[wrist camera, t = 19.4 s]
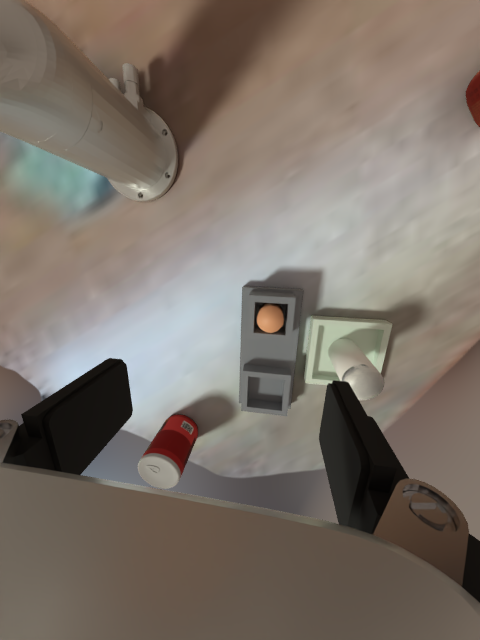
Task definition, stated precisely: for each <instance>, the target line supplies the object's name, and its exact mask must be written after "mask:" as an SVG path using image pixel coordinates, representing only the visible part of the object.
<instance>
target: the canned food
mask: <svg viewBox="0 0 480 640" xmlns="http://www.w3.org/2000/svg"><path fill="white" fill-rule="evenodd" d="M197 436H198V428H197V425H196V424H195V422H194V421H193V420H192V419H190V418H189V417H187V416H184V415H173V416H171V417H169V418H168V419H167V420H166V421H165V422H164V424H163V426H162V427H161V429H160V430H159V432H158V433H157V435H156V436H155V438H154V439H153V441H152V442H151V444H150V445H149V447H148V449H147V450H146V452H145V453H144V455H143V457H142V458H141V460H140V462H139V464H138V471H139V474H140V475H141V477H142V478H143V479H144V480H145V481H146V482H147V483H149V484H150V485H152V486H154V487H158V488H163V489H167V488H172V487H174V486H175V485H176V484H177V483H178V481H179V480H180V477H181V475H182V473H183V470H184V468H185V465H186V463H187V461H188V458H189V456H190V453H191V451H192V448H193V446H194V444H195V441H196V439H197Z"/></svg>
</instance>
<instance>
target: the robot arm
mask: <svg viewBox="0 0 480 640" xmlns="http://www.w3.org/2000/svg"><path fill="white" fill-rule="evenodd" d="M123 77H124V84H125V90H126V93H125V94H124V95H123V94H122V93H121V86H120V82H119V81H118V80H117V79H114V78H110V79H108V78H107V77H106V76H105V75H104V74H103V73H102V72H101V71H100V70H99V69H98V68H97V67H96V66H95V65H94V64H93V63H92V62H91V61H90V60H89V59H88V58H87V57H86V56H85V54H84V53H83V52H82V51H81V50H80V49H79V48H78V47H77V46H76V45H75V44H74V43H73V42H72V41H71V40H70V39H69V38H68V37H67V36H66V35H65V34H64V33H63V32H62V31H61V30H60V29H59V27H58V26H57V25H56V24H55V23H53V22H52V21H51V20H50V19H49V18H48V17H47V16H46V15H44V14H43V13H42V12H40V11H39V10H38V9H36V8H35V7H34V6H32V5H31V4H29V3H28V2H26V1H24V0H0V131H1V132H3V133H6V134H8V135H10V136H13V137H15V138H17V139H20V140H22V141H25V142H27V143H29V144H31V145H34V146H36V147H38V148H40V149H43V150H45V151H47V152H50V153H52V154H54V155H56V156H59V157H61V158H63V159H65V160H68V161H70V162H72V163H75V164H77V165H79V166H81V167H84V168H86V169H88V170H90V171H93V172H95V173H97V174H99V175H102V176H104V177H106V178H108V180H109V182H110V183H111V184H112V186H113V187H114V188H115V189H116V190H117V191H118V192H119V193H120V194H122V195H124V196H125V197H127V198H129V199H132V200H135V201H138V202H149V201H153V200H156V199H158V198H160V197H161V196H162V195H164V194H165V193H166V192H167V191H168V190H169V188H170V187H171V185H172V183H173V182H174V179H175V176H176V173H177V168H178V151H177V145H176V142H175V138H174V136H173V134H172V132H171V130H170V129H169V127H168V126H167V124H166V123H165V122H164V121H163V120H162V118H161V117H160V116H159V115H157V114H156V113H155V112H154V111H152V110H150V109H148V108H146V107H143V100H142V98H141V97H140V94H139V76H138V69H137V68H136V67H135V66H134V65H132V64H129V63H125V64H123ZM166 135H167V136H166ZM169 176H170V177H169ZM132 411H133V408H132V401H131V394H130V387H129V380H128V373H127V366H126V364H125V363H124V362H123V360H121V359H112V358H109V359H107V360H105V361H104V362H102V363H101V364H99V365H98V366H96V367H94V368H93V369H91V370H90V371H88V372H87V373H85V374H84V375H82V376H80V377H79V378H77V379H76V380H74V381H73V382H71V383H70V384H68V385H66V386H65V387H63V388H62V389H60V390H59V391H57V392H56V393H54V394H52V395H51V396H49V397H48V398H46V399H45V400H43V401H42V402H40V403H38V404H37V405H35V406H34V407H32V408H31V409H29V410H28V411H26V412H24V413H23V414H21V415H22V418H23V421H24V423H23V424H21V425H20V426H19V425H18V423H17V422H16V421H14V420H1V421H0V640H480V541H479V540H477V539H476V538H475V537H473V536H472V535H470V534H469V529H468V523H467V521H466V519H465V517H464V515H463V513H462V512H461V511H460V509H459V508H458V507H457V506H456V504H455V503H454V502H453V501H452V500H451V499H449V498H448V497H447V496H446V495H445V494H444V493H442V492H441V491H439V490H438V489H436V488H435V487H433V486H431V485H429V484H427V483H425V482H422V481H419V480H416V479H409V477H408V476H407V474H406V472H405V471H404V469H403V467H402V466H401V464H400V462H399V460H398V459H397V457H396V455H395V454H394V452H393V450H392V449H391V447H390V446H389V444H388V442H387V440H386V439H385V437H384V435H383V434H382V432H381V430H380V428H379V427H378V425H377V423H376V422H375V420H374V419H373V418H372V417H369V416H367V414H366V412H365V411H364V409H363V407H362V405H361V404H360V402H359V400H358V398H357V397H356V395H355V393H354V391H353V389H352V388H351V386H350V384H349V383H348V382H346V381H335V380H333V382H332V384H331V383H328V385H327V390H326V397H325V403H324V409H323V415H322V421H321V427H320V434H319V441H320V446H321V450H322V455H323V459H324V463H325V467H326V471H327V475H328V480H329V484H330V488H331V493H332V496H333V501H334V505H335V509H336V514H337V518H338V522H339V524H336V523H332V522H328V521H324V520H320V519H315V518H310V517H305V516H301V515H295V514H291V513H286V512H281V511H276V510H270V509H266V508H261V507H254V506H250V505H244V504H239V503H233V502H227V501H222V500H217V499H212V498H206V497H201V496H195V495H190V494H184V493H178V492H173V491H168V490H162V489H156V488H151V487H145V486H139V485H134V484H128V483H122V482H117V481H111V480H105V479H99V478H93V477H87V476H81V475H80V474H81V473H82V472H83V471H84V470H85V469H86V468H87V466H88V465H89V464H90V463H91V462H92V461H93V460H94V458H95V457H96V456H97V455H98V454H99V453H100V452H101V450H102V449H103V448H104V447H105V446H106V445H107V443H108V442H109V441H110V440H111V439H112V438H113V437H114V435H115V434H116V433H117V432H118V431H119V430H120V429H121V427H122V426H123V425H124V424H125V423H126V422H127V421H128V419H129V418H130V417H131V415H132Z"/></svg>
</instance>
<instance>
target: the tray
mask: <svg viewBox="0 0 480 640" xmlns="http://www.w3.org/2000/svg"><path fill="white" fill-rule="evenodd" d="M391 329H392V324H391V323H390V322H388V321H386V320H378V319H362V318H346V317H330V316H314V315H311V322H310V330H309V338H308V346H307V354H306V362H305V370H304V380H305V383H310V384H320V385H328V383H331V384H332V382H333V380H335V381H340V379H339V377H338V375H337V373H336V371H335V369H334V367H333V364H332V362H331V360H330V358H329V356H328V349H329V346H330V345H331V344H332V343H333V342H334V341H336V340H338V339H342V338H346V339H350V340H352V341H354V342H355V343H356V344H357V346H358V347H359V348H360V349H361V350H362V352H363V353H364V354H365V355H366V357H367V358H368V359H369V360H370V361H371V363H372V364H373V365H374V366H375V367H376V369H377V370H378V371H379V372H380V374H381V370H382V366H383V362H384V358H385V354H386V349H387V345H388V341H389V337H390V333H391Z"/></svg>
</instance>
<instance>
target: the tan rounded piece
mask: <svg viewBox="0 0 480 640" xmlns="http://www.w3.org/2000/svg"><path fill="white" fill-rule="evenodd" d="M283 322H284V318H283V311H282V308H281V306H280V305H279V304H277V303H264V304H263V305H262V306H261V307H260V309H259V313H258V316H257V323H258V326H259V327H260V329H262V330H263V331H265V332H268V333H273V332H276V331H278V330H279V329H280V328H281V327H282V325H283Z"/></svg>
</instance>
